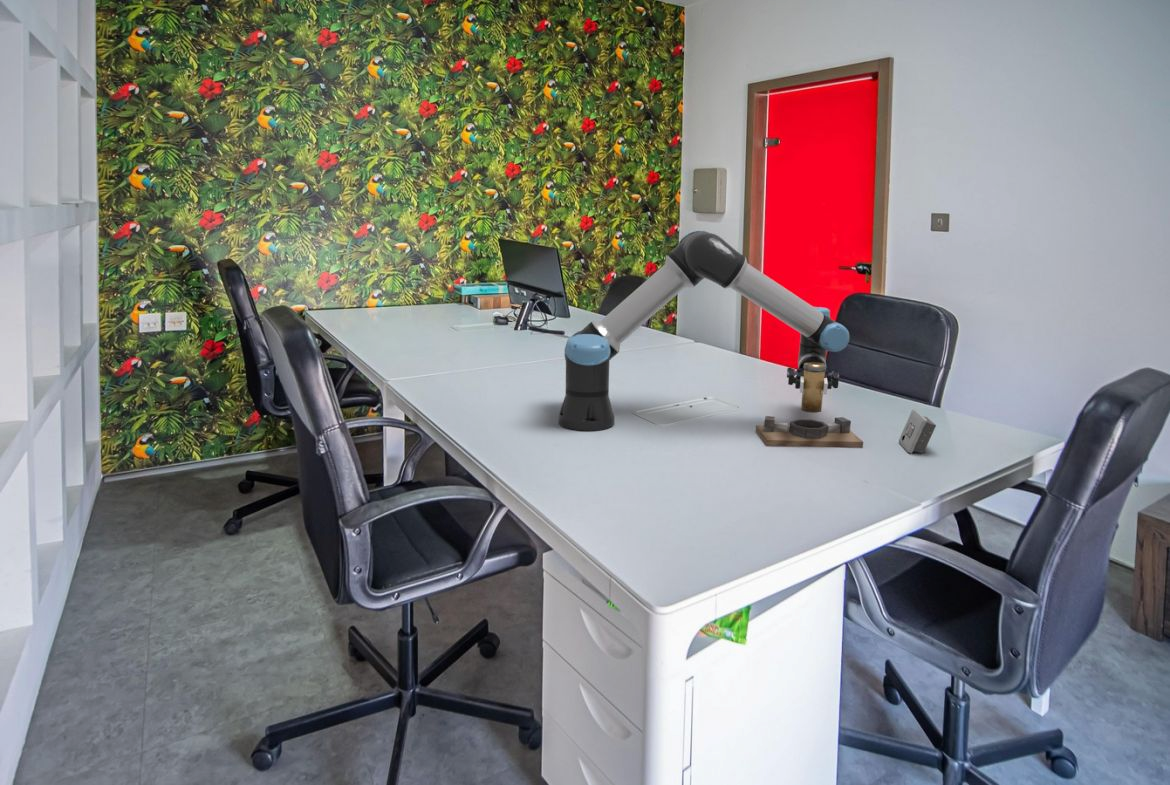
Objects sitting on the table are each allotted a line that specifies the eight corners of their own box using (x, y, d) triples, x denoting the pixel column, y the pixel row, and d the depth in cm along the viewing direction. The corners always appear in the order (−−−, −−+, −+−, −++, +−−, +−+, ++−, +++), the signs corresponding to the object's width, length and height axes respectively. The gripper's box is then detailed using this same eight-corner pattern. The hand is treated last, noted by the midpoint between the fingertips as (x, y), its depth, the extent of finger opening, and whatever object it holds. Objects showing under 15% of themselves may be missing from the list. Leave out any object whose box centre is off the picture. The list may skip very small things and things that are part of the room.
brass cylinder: (797, 410, 197) (800, 364, 194) (804, 406, 201) (808, 361, 198) (818, 414, 194) (822, 367, 191) (825, 409, 198) (829, 363, 195)
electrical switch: (897, 442, 198) (905, 408, 196) (918, 445, 198) (926, 410, 195) (908, 454, 189) (916, 418, 187) (929, 457, 188) (938, 421, 186)
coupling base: (766, 445, 193) (768, 427, 192) (755, 430, 206) (756, 413, 205) (862, 447, 193) (864, 429, 192) (845, 432, 206) (847, 415, 205)
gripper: (845, 384, 212) (850, 405, 190) (777, 380, 216) (775, 400, 194) (848, 357, 210) (853, 375, 188) (779, 353, 214) (777, 370, 192)
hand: (813, 388), depth 191 cm, fingers closed on brass cylinder, 5 cm apart
